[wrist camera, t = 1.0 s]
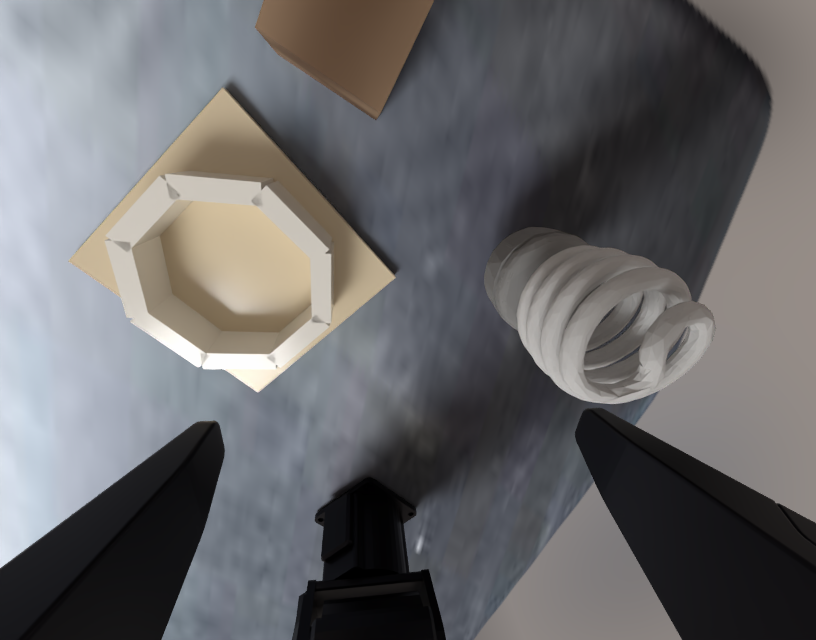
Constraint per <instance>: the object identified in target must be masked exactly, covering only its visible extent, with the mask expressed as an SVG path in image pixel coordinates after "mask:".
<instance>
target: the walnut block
mask: <svg viewBox="0 0 816 640" xmlns="http://www.w3.org/2000/svg"><path fill="white" fill-rule="evenodd" d="M433 2H434V0H264V1H263V4H262V7H261V10H260V14H259V17H258V20H257V23H256V26H255V28H256V29H257V30H258V31H259V33H260V34H261V35H262V36H263V37H264V39H265V40H266V41H267V42H268V43H269V45H270V46H271V47H272V48H273V49H274V51H275V52H276V53H277V54H278V55H279V56H281V57H282V58H284V59H285V60H287V61H288V62H290V63H291V64H293V65H294V66H296V67H297V68H299V69H300V70H302V71H303V72H305V73H306V74H308V75H309V76H311V77H312V78H314V79H315V80H317V81H318V82H320V83H321V84H323V85H324V86H326V87H327V88H329V89H330V90H332V91H333V92H335V93H336V94H338V95H339V96H340V97H342V98H343V99H345V100H346V101H348V102H349V103H351V104H352V105H354V106H355V107H357V108H358V109H360V110H361V111H363V112H364V113H366V114H367V115H369V116H370V117H372V118H373V119H375V120H376V119H377V118H378V116H379V115H380V113H381V111H382V109H383V107H384V105H385V103H386V101H387V99H388V97H389V94H390V92H391V90H392V88H393V86H394V84H395V82H396V80H397V78H398V76H399V73H400V71H401V69H402V67H403V65H404V63H405V61H406V59H407V57H408V55H409V52H410V50H411V48H412V46H413V44H414V42H415V40H416V38H417V36H418V34H419V31H420V29H421V27H422V25H423V23H424V21H425V19H426V17H427V15H428V12H429V10H430V8H431V6H432V4H433Z"/></svg>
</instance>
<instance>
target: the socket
mask: <svg viewBox="0 0 816 640" xmlns="http://www.w3.org/2000/svg"><path fill="white" fill-rule="evenodd" d="M69 262H70V263H72V264H73V265H75V266H76V267H78V268H79V269H80V270H82V271H83V272H85V273H86V274H88V275H89V276H91V277H92V278H93V279H95V280H96V281H98V282H99V283H101V284H102V285H104V286H105V287H106V288H108V289H109V290H111V291H112V292H114V293H115V294H116V295H118V296H119V297H121V300H122V303H123V306H124V310H125V313H126V317H127V318H133V319H132V320H131V321H130V322H131V323H133V324H134V325H136V326H137V327H139V328H140V329H142V330H143V331H144V332H146V333H147V334H149V335H150V336H152V337H153V338H155V339H156V340H158V341H159V342H161V343H162V344H164V345H165V346H167V347H168V348H170V349H171V350H173V351H174V352H176V353H177V354H179V355H180V356H182V357H183V358H185V359H186V360H188V361H189V362H191V363H192V364H194V365H195V366H197V367H200V366H201V365H202V366H203V369H225V370H226V371H228V372H229V373H230V374H232V375H233V376H235V377H236V378H238V379H239V380H241V381H242V382H243V383H245V384H246V385H248V386H249V387H251V388H252V389H254V390H255V391H256V392H259V391H261V390H262V389H263V388H264V387H265V386H267V385H268V384H269V383H270V382H271V381H273V380H274V379H275V378H276V377H277V376H279V375H280V374H281V373H282V372H283V371H285V370H286V369H287V368H288V367H289V366H291V365H292V364H293V363H294V362H295V361H297V360H298V359H299V358H300V357H301V356H303V355H304V354H305V353H306V352H307V351H308V350H310V349H311V348H312V347H313V346H314V345H316V344H317V343H318V342H319V341H320V340H322V339H323V338H324V337H325V336H326V335H328V334H329V333H330V332H331V331H332V330H334V329H335V328H336V327H337V326H338V325H340V324H341V323H342V322H343V321H344V320H346V319H347V318H348V317H349V316H350V315H352V314H353V313H354V312H355V311H356V310H357V309H359V308H360V307H361V306H362V305H363V304H365V303H366V302H367V301H368V300H369V299H371V298H372V297H373V296H374V295H375V294H377V293H378V292H379V291H380V290H381V289H383V288H384V287H385V286H386V285H387V284H389V283H390V282H391V281H392V280H393V279H395V278H396V277H395V274H394V273H393V272H392V271H391V270H390V269H389V268H388V267H387V266H386V265H385V263H384V262H383V261H382V260H381V259H380V258H379V257H378V256H377V255H376V254H375V252H374V251H373V250H372V249H371V248H370V247H369V246H368V245H367V244H366V243H365V241H364V240H363V239H362V238H361V237H360V236H359V235H358V234H357V233H356V231H355V230H354V229H353V228H352V227H351V226H350V225H349V224H348V223H347V222H346V220H345V219H344V218H343V217H342V216H341V215H340V214H339V213H338V212H337V211H336V209H335V208H334V207H333V206H332V205H331V204H330V203H329V202H328V201H327V200H326V198H325V197H324V196H323V195H322V194H321V193H320V192H319V191H318V190H317V188H316V187H315V186H314V185H313V184H312V183H311V182H310V181H309V180H308V179H307V177H306V176H305V175H304V174H303V173H302V172H301V171H300V170H299V169H298V168H297V166H296V165H295V164H294V163H293V162H292V161H291V160H290V159H289V158H288V157H287V155H286V154H285V153H284V152H283V151H282V150H281V149H280V148H279V147H278V145H277V144H276V143H275V142H274V141H273V140H272V139H271V138H270V137H269V136H268V134H267V133H266V132H265V131H264V130H263V129H262V128H261V127H260V126H259V125H258V123H257V122H256V121H255V120H254V119H253V118H252V117H251V116H250V115H249V114H248V112H247V111H246V110H245V109H244V108H243V107H242V106H241V105H240V104H239V103H238V101H237V100H236V99H235V98H234V97H233V96H232V95H231V94H230V93H229V91H228V90H227V89H225V88H222V89H221V90H220V91H219V92H218V93H217V95H216V96H215V97H214V98H213V99H212V100H211V101H210V102H209V103H208V105H207V106H206V107H205V108H204V109H203V110H202V111H201V112H200V114H199V115H198V116H197V117H196V118H195V119H194V120H193V121H192V123H191V124H190V125H189V126H188V127H187V128H186V129H185V130H184V132H183V133H182V134H181V135H180V136H179V137H178V138H177V139H176V141H175V142H174V143H173V144H172V145H171V146H170V147H169V148H168V150H167V151H166V152H165V153H164V154H163V155H162V156H161V157H160V159H159V160H158V161H157V162H156V163H155V164H154V165H153V166H152V168H151V169H150V170H149V171H148V172H147V173H146V174H145V175H144V177H143V178H142V179H141V180H140V181H139V182H138V183H137V184H136V185H135V187H134V188H133V189H132V190H131V191H130V192H129V193H128V194H127V196H126V197H125V198H124V199H123V200H122V201H121V202H120V203H119V205H118V206H117V207H116V208H115V209H114V210H113V211H112V212H111V214H110V215H109V216H108V217H107V218H106V219H105V220H104V221H103V223H102V224H101V225H100V226H99V227H98V228H97V229H96V230H95V232H94V233H93V234H92V235H91V236H90V237H89V238H88V239H87V241H86V242H85V243H84V244H83V245H82V246H81V247H80V248H79V250H78V251H77V252H76V253H75V254H74V255H73V256H72V257H71V259H70V260H69Z"/></svg>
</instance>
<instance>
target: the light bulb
mask: <svg viewBox="0 0 816 640" xmlns="http://www.w3.org/2000/svg"><path fill="white" fill-rule="evenodd" d="M606 281H607V282H606ZM484 282H485V289H486V292H487V294H488V297H489V298H490V300H491V302H492V303H493V305H494V307H495V308H496V310H497V311H498V313H499V315H500V316H501V318H502V319H504V320H505V321H506V322H507V323H508V324H509V325H510V326H512V327H513V328H514V329H516V330H518V332H519V335H520V338H521V340H522V342H523V345H524V346H525V347H526V349H527V350H528V352H529V353H530V354H531V355H532V357H533V359H534V361H535V363H536V364H537V365H538V366H539V367H540V368H541V369H542V370H543V371H544V372H545V374H547V375H549V376H550V377H551V378H552V380H553V381H554V382H555V384H556V385H557V386H558V387H560V388H561V389H562V390H564V391H565V392H567V393H568V394H570V395H572V396H575V397H577V398H579V399H581V400H585V401H589V402H595V403H606V404H617V403H625V402H629V401H632V400H636V399H640V398H643V397H645V396H647V395H650V394H652V393H655V392H657V391H660V390H662V389H664V388H665V387H667V386H668V385H670V384H671V383H673V382H674V381H676V380H677V379H679V378H680V377H681V376H683V375H684V374H686V373H687V372H688V371H689V370H690V369H691V368H692V367H693V366H694V365H695V364H696V363H697V362H698V361H699V360H700V359H701V358H702V356H703V355H704V353H705V352H706V350H707V349H708V347H709V345H710V344H711V342H712V341H713V337H714V333H715V329H716V327H715V322H714V317H713V314H712V313H711V311H710V310H709V309H708V308H707V307H706V306H705V305H703V304H700V303H697V302H694V301H691V294H690V291H689V289H688V287H687V285H686V283H685V282H684V281H683V280H682V279H681V278H680V277H679V276H678V275H677V274H676V273H674V272H672V271H670V270H667V269H663V268H659V267H658V266H656V265H655V264H654V263H653V262H652V261H650V260H649V259H646V258H644V257H641V256H636V255H629V254H628V253H625V252H623V251H621V250H618V249H614V248H598V247H596V246H590V245H588V244H587V243H586V242H585V241H583V240H582V239H581V238H580V237H578V236H575V235H572V234H569V233H566V232H563V231H559V230H555V229H550V228H546V227H528V228H525V229H522V230H519V231H517V232H514V233H512V234H511V235H510V236H508V237H507V238H505V239H504V240H503V241H502V242H501V243H500V244H499V245H498V246H497V247H496V248H495V249H494V250H493V252H492V254H491V256H490V258H489V261H488V263H487V266H486V270H485V274H484ZM604 282H605V283H604ZM602 283H604V284H602ZM601 284H602V285H601ZM600 285H601V286H600ZM643 293H644V300H643V303H642V307H641V310H640V312H639V314H638V316H637V318H636V319H635V321H634V322H633V324H632V325H631V326H630V327H629V328H628V330H627V331H625V332H624V333H623V334H622V335H621V336H620V337H619V338H617V339H616V340H614V341H613V342H611V343H609V344H608V345H606V346H605V347H603V348H600V349H597V350H594V351H591V352H588V353H585V352H586V351H588V350H591V349H593V348H596V347H598V346H600V345H602V344H603V343H605V342H607V341H609V340H610V339H611V338H613V337H614V336H615V335H617V334H618V333H619V332H620V331H621V330H622V329H623V328H624V327H625V326H626V325H627V324H628V323H629V321H630V320H631V319H632V317H633V316H634V314H635V312H636V311H637V309H638V307H639V305H640V302H641V300H642V296H643ZM615 305H616V306H615ZM614 306H615V308H614V310H613V311H612V312H611V314H610V315H609V316H608V317H607V318H606V319H605V320H604V321H603V322H602V323H601V324H599V323H600V321H601V320H602V318H603V317H604V316H605V315H606V314H607V313H608V312H609V311H610V310H611V309H612V308H613V307H614ZM665 306H666V310H665V311H664V309H665ZM598 324H599V325H598ZM597 325H598V326H597ZM686 327H688V333H687V335H686V337H685V339H684V341H683V342H682V344H681V345H680V347H679V348H678V349H677V350H676V351H675V352H674V353H673V354H672V355H671V356H670V357H669V358H668V359H667V354H668V352H669V351H670V350H671V349H672V347H673V346H674V345H675V344H676V342H677V341H678V340H679V338H680V337H681V335H682V333H683V331H684V330H685V328H686ZM565 329H566V330H565ZM640 345H641V346H640ZM638 346H640V349H639V351H638V352H636V353H635V354H633V355H632V356H630V357H629V358H627V359H626V360H623V361H621V362H618V363H616V364H613V365H611V366H608V367H605V366H607V365H609V364H611V363H614V362H616V361H618V360H619V359H621V358H623V357H624V356H626V355H628V354H629V353H631V352H632V351H633V350H635V349H636V348H637V347H638ZM666 359H667V360H666ZM600 367H605V368H600ZM596 368H600V369H596ZM592 369H593V370H592Z"/></svg>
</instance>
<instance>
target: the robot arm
mask: <svg viewBox="0 0 816 640" xmlns="http://www.w3.org/2000/svg"><path fill="white" fill-rule="evenodd" d="M575 438H576V442H577V444H578V446H579V448H580V450H581V453H582V455H583V457H584V459H585V462H586V464H587V466H588V468H589V470H590V473H591V475H592V477H593V479H594V481H595V484H596V486H597V488H598V490H599V492H600V494H601V496H602V498H603V500H604V502H605V504H606V506H607V507H608V509H609V511H610V513H611V515H612V516H613V518H614V520H615V522H616V523H617V525H618V527H619V529H620V531H621V532H622V534H623V536H624V537H625V539H626V541H627V543H628V544H629V546H630V548H631V550H632V552H633V554H634V555H635V557H636V559H637V561H638V562H639V564H640V566H641V568H642V569H643V571H644V573H645V575H646V576H647V578H648V580H649V582H650V583H651V585H652V587H653V589H654V591H655V592H656V594H657V596H658V598H659V600H660V601H661V603H662V605H663V607H664V608H665V610H666V612H667V614H668V616H669V617H670V619H671V621H672V622H673V624H674V626H675V628H676V629H677V631H678V633H679V635H680V637H681V638H682V640H816V523H815V522H813V521H811V520H809V519H807V518H805V517H803V516H801V515H800V514H797V513H796V512H794V511H792V510H790V509H788V508H787V507H785V506H783V505H781V504H778V503H777V504H776V503H775V501H773V500H772V499H770V498H768V497H766V496H764V495H762V494H760V493H758V492H757V491H755V490H753V489H751V488H749V487H747V486H746V485H744V484H742V483H740V482H738V481H736V480H734V479H732V478H731V477H729V476H727V475H725V474H723V473H721V472H720V471H718V470H716V469H714V468H712V467H710V466H708V465H706V464H705V463H703V462H701V461H699V460H697V459H695V458H694V457H692V456H690V455H688V454H686V453H684V452H682V451H680V450H679V449H677V448H675V447H673V446H671V445H669V444H667V443H665V442H663V441H662V440H660V439H658V438H656V437H655V436H653V435H651V434H649V433H647V432H645V431H643V430H641V429H639V428H638V427H636V426H634V425H632V424H630V423H629V422H627V421H625V420H623V419H621V418H619V417H617V416H616V415H614V414H612V413H610V412H608V411H606V410H604V409H602V408H587V409H585V410H584V411H583V413H582V415H581V418H580V420H579V423H578V425H577V428H576V431H575ZM224 453H225V448H224V443H223V439H222V434H221V429H220V425H219V423H218V422H216V421H200V422H196V423H195V424H193V425H192V426H190V427H189V428H188V429H186V430H185V431H184V432H182V433H181V434H180V435H178V436H177V437H176V438H174V439H173V440H172V441H170V442H169V443H168V444H166V445H165V446H164V447H162V448H161V449H160V450H158V451H157V452H156V453H154V454H153V455H152V456H150V457H149V458H147V459H146V460H145V461H143V462H142V463H141V464H139V465H138V466H137V467H135V468H134V469H133V470H131V471H130V472H129V473H127V474H126V475H125V476H123V477H122V478H121V479H119V480H118V481H117V482H115V483H114V484H113V485H111V486H110V487H109V488H107V489H106V490H105V491H103V492H102V493H101V494H99V495H98V496H97V497H95V498H94V499H93V500H91V501H90V502H88V503H87V504H86V505H84V506H83V507H82V508H80V509H79V510H78V511H76V512H75V513H74V514H72V515H71V516H70V517H68V518H67V519H66V520H64V521H63V522H62V523H60V524H59V525H58V526H56V527H55V528H54V529H52V530H51V531H50V532H48V533H47V534H46V535H44V536H43V537H42V538H40V539H39V540H38V541H36V542H35V543H33V544H32V545H31V546H29V547H28V548H27V549H25V550H24V551H23V552H21V553H20V554H19V555H17V556H16V557H15V558H13V559H12V560H11V561H9V562H8V563H7V564H5V565H4V566H3V567H1V568H0V640H161V639H162V637H163V634H164V631H165V629H166V626H167V624H168V621H169V619H170V616H171V613H172V611H173V608H174V606H175V603H176V601H177V598H178V595H179V593H180V590H181V588H182V585H183V583H184V580H185V578H186V575H187V572H188V570H189V567H190V565H191V562H192V560H193V557H194V554H195V552H196V549H197V547H198V544H199V542H200V539H201V536H202V533H203V531H204V528H205V525H206V521H207V518H208V514H209V511H210V507H211V503H212V500H213V496H214V492H215V489H216V485H217V481H218V478H219V474H220V470H221V467H222V463H223V459H224ZM414 516H416V508H415V507H414V506H412V505H411V504H409V503H408V502H406V501H405V500H403V499H402V498H400V497H399V496H397V495H396V494H395V493H393V492H392V491H390V490H389V489H387V488H386V487H384V486H383V485H381V484H380V483H378V482H377V481H375V480H374V479H372V478H367V479H365V480H363V481H362V482H360V483H359V484H358V485H356V486H355V487H353V488H352V489H351V490H349V491H348V492H346V493H345V494H343V495H342V496H341V497H339V498H338V499H336V500H335V501H333V502H332V503H331V504H329V505H328V506H326V507H325V508H323V509H322V510H321V511H319V512H318V513H317V514H316V515H315V522H316V523H318V524H320V525H322V526H323V527H324V530H323V541H322V552H321V560H322V561H324V569H323V581H316V580H309V581H308V586H307V591H306V592H305V593H304V594H302V595H301V596H299V601H298V609H297V617H296V623H295V628H294V633H293V637H292V640H446V637H445V632H444V627H443V623H442V619H441V615H440V611H439V607H438V603H437V600H436V596H435V592H434V588H433V584H432V580H431V576H430V573H429V569H425V570H421V571H419V572H409V565H408V557H407V549H406V541H405V533H404V525H403V524H404V523H405V522H407V521H408V520H410V519H411V518H413V517H414Z"/></svg>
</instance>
